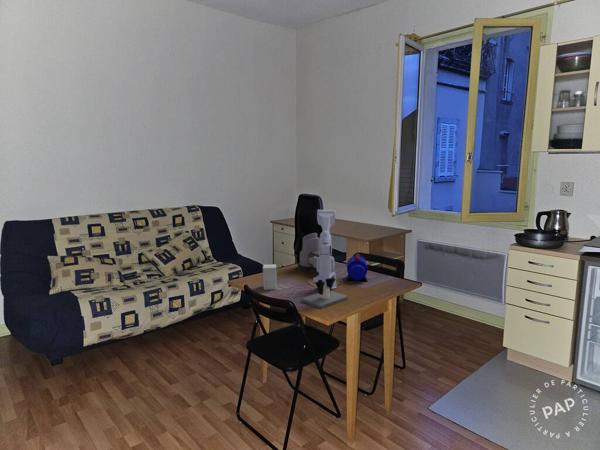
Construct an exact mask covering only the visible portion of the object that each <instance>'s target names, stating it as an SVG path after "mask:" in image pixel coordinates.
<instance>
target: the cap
mask: <svg viewBox="0 0 600 450" xmlns="http://www.w3.org/2000/svg"><path fill="white" fill-rule="evenodd" d="M320 298H322V299H328V298H330V288H329V287H327V286H324V287H323V294H322V295H321V294H320Z"/></svg>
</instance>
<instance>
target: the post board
mask: <svg viewBox="0 0 600 450" xmlns="http://www.w3.org/2000/svg"><path fill="white" fill-rule="evenodd" d="M300 299H301V301H300V302H302V303H305V304H308V305H310V306H313V307H315V308H318V309H324V308H326V307H329V306H333V305H336V304H338V303H341V302H344V301H347V300H348V299H349V295H345V294H342V293H339V292H337V291H334V290H331V292H330V298H328V299H322V298H320V294H319V292H317V293H314V294H311V295H307V296H305V297H301V298H300Z"/></svg>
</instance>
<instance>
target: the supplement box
mask: <svg viewBox="0 0 600 450" xmlns="http://www.w3.org/2000/svg"><path fill="white" fill-rule="evenodd" d="M262 280H263V285H262V286H263V287H262V288H263V290H265V291H268V290H269V291H270V290H277V287H278V286H277V284H278V283H277V264H263V265H262Z"/></svg>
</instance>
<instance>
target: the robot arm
mask: <svg viewBox="0 0 600 450" xmlns="http://www.w3.org/2000/svg"><path fill="white" fill-rule="evenodd" d="M316 220H317V224H318V225H319V226H321V229H322V232H321V233H320V234H319V238H320V246H319V257H318V259H317V272H319V275H318V276H315V277H313V282H314V283H315V289H317V291H318V292H317V293H319V294H321V295H322V294H323V287H324V286H327V287H329V288H330V292H331V291H332V290H333V289H337V288H338V286H337V272H335V258H334V256H333V253H332V252H333V245H332V234H331V228H332V226H334V225H335V224H336V223H335V221H336V209H319V208H318V209H317V210H316ZM330 254H332V256H333V257H332V256H331V255H330ZM332 262H333V263H332ZM334 272H335V273H334Z"/></svg>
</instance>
